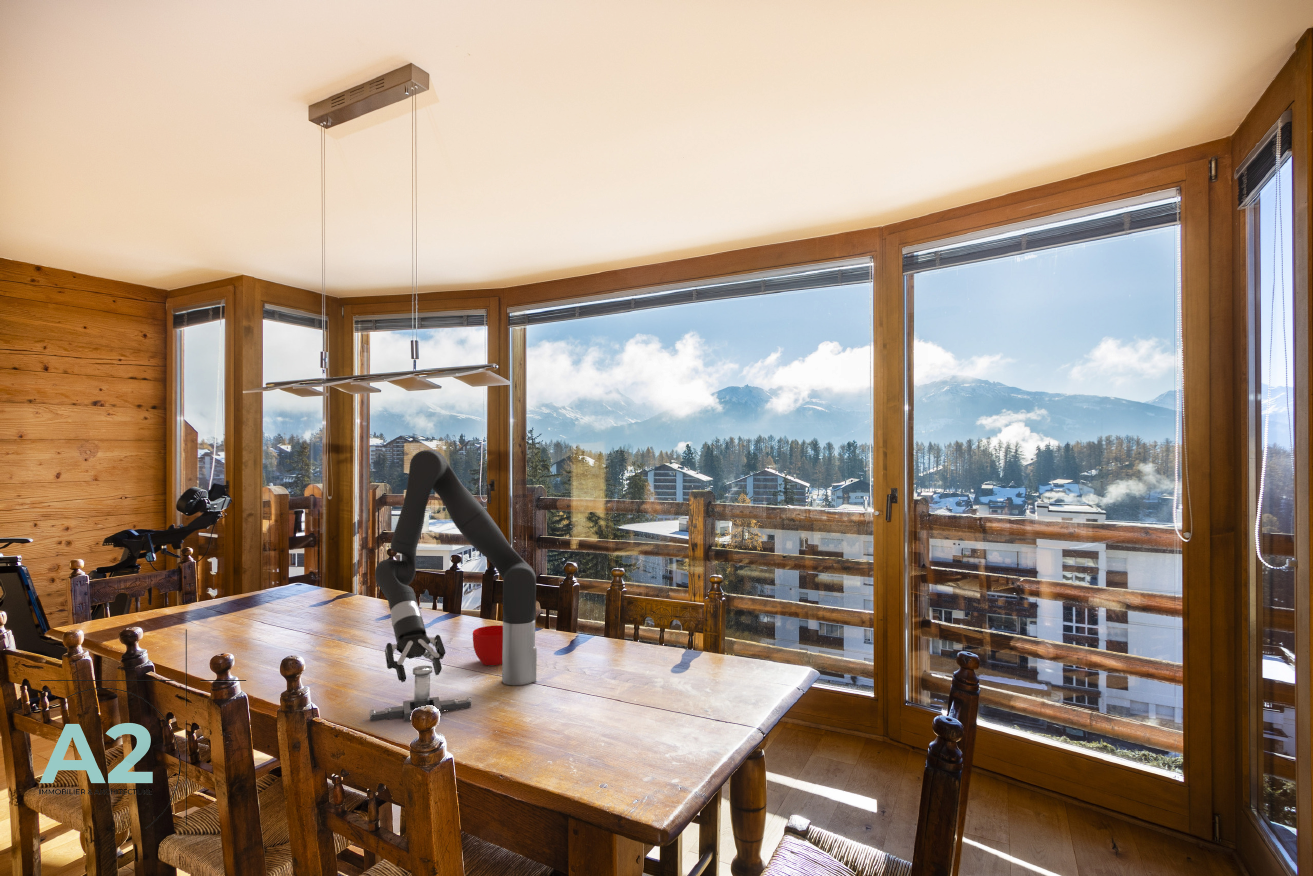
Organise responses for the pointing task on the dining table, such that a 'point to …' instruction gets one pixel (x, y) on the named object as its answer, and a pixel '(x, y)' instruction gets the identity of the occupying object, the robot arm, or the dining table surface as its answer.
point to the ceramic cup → (489, 644)
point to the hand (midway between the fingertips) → (421, 677)
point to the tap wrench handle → (409, 707)
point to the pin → (422, 685)
